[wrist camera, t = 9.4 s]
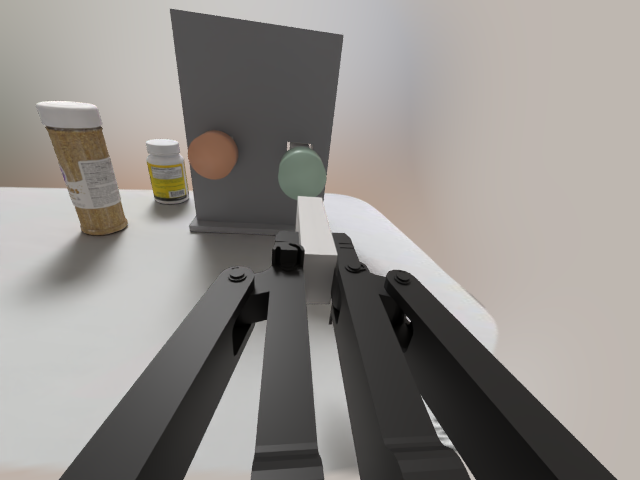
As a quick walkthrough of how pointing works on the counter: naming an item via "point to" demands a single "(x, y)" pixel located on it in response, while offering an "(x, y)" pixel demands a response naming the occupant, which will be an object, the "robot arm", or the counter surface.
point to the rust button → (213, 154)
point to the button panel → (253, 111)
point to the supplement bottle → (167, 171)
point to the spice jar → (84, 164)
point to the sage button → (301, 172)
